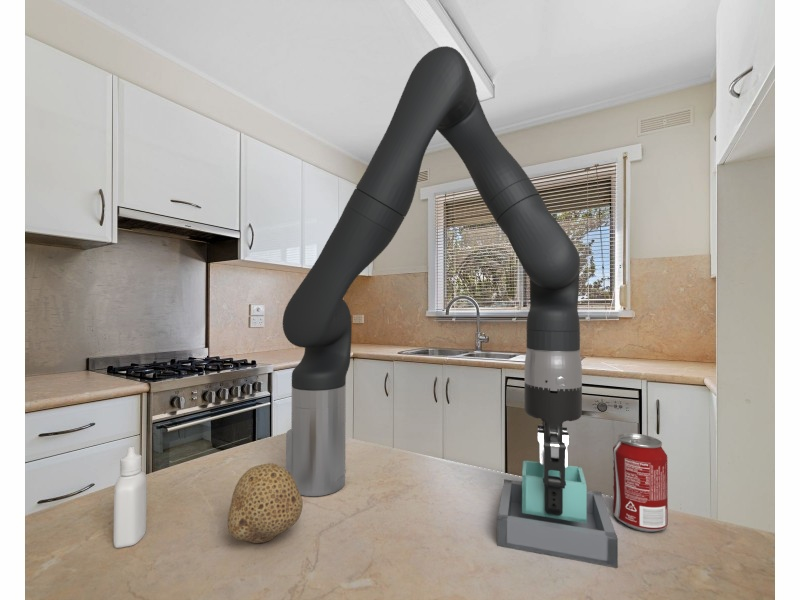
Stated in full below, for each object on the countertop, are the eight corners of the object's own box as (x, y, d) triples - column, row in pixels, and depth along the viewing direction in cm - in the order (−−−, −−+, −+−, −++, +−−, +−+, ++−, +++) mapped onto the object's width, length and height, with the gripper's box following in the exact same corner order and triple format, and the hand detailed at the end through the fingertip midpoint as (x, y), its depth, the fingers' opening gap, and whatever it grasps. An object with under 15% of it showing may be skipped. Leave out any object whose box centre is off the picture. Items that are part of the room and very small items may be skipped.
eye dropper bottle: (97, 547, 52) (98, 453, 52) (132, 524, 58) (133, 439, 58) (127, 551, 51) (128, 456, 52) (160, 527, 57) (161, 441, 57)
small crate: (522, 513, 55) (522, 476, 55) (523, 493, 61) (523, 460, 61) (586, 523, 53) (586, 484, 53) (581, 502, 58) (581, 467, 58)
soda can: (676, 538, 55) (676, 449, 55) (621, 532, 56) (621, 445, 56) (655, 513, 61) (655, 433, 61) (607, 508, 63) (607, 430, 63)
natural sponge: (313, 528, 57) (314, 456, 57) (279, 568, 48) (280, 483, 48) (256, 519, 59) (257, 450, 59) (214, 556, 50) (215, 475, 51)
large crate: (497, 545, 53) (497, 518, 53) (504, 501, 65) (504, 479, 65) (617, 567, 48) (617, 538, 49) (601, 515, 60) (601, 492, 60)
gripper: (525, 371, 65) (525, 477, 65) (523, 389, 51) (523, 523, 51) (576, 374, 63) (576, 484, 62) (588, 394, 49) (588, 534, 49)
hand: (552, 501), depth 57 cm, fingers closed on small crate, 6 cm apart
